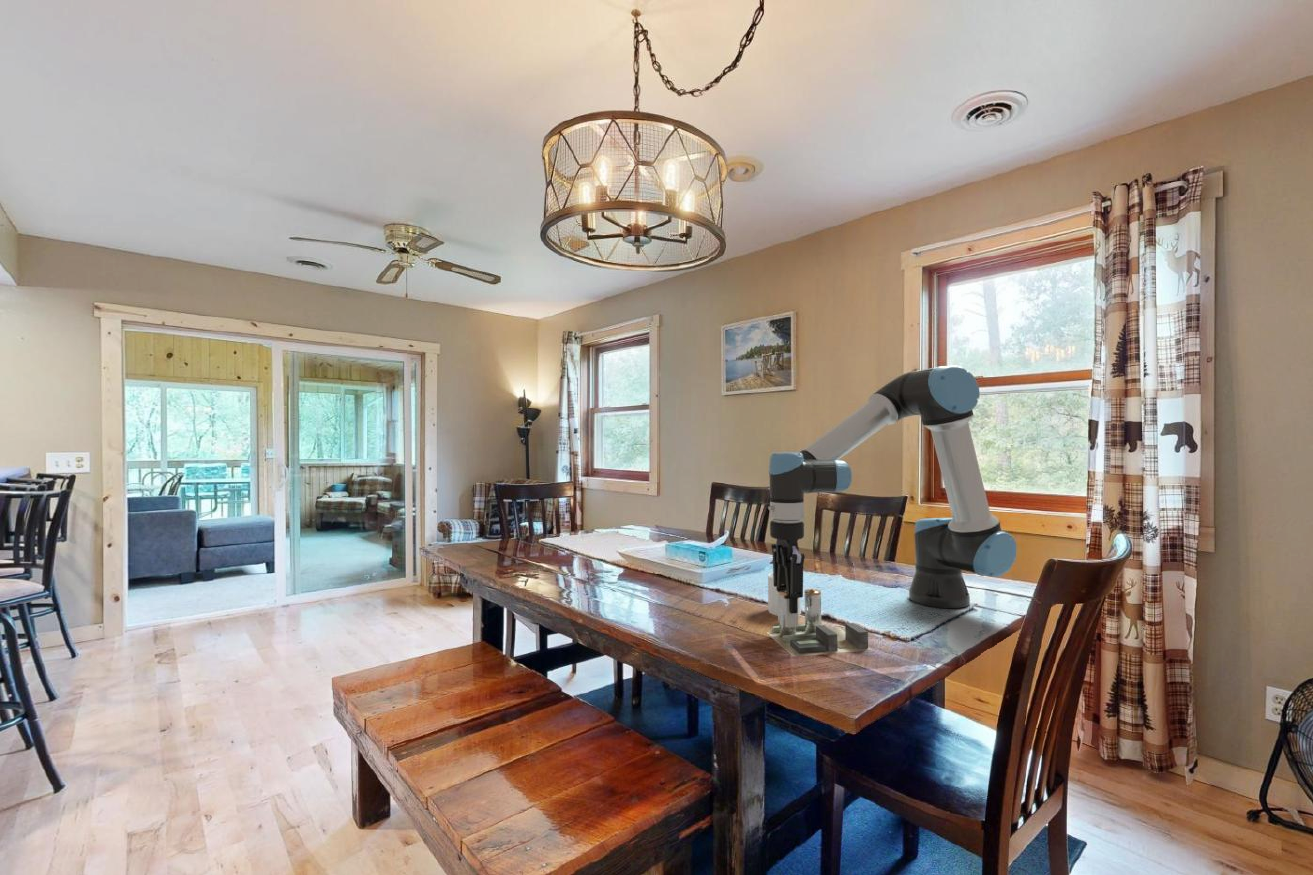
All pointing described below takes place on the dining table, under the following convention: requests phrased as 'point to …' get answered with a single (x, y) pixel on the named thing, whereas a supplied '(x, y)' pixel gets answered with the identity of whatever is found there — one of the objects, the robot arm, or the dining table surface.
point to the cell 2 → (812, 610)
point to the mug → (776, 597)
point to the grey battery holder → (822, 640)
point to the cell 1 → (784, 629)
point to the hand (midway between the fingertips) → (788, 623)
